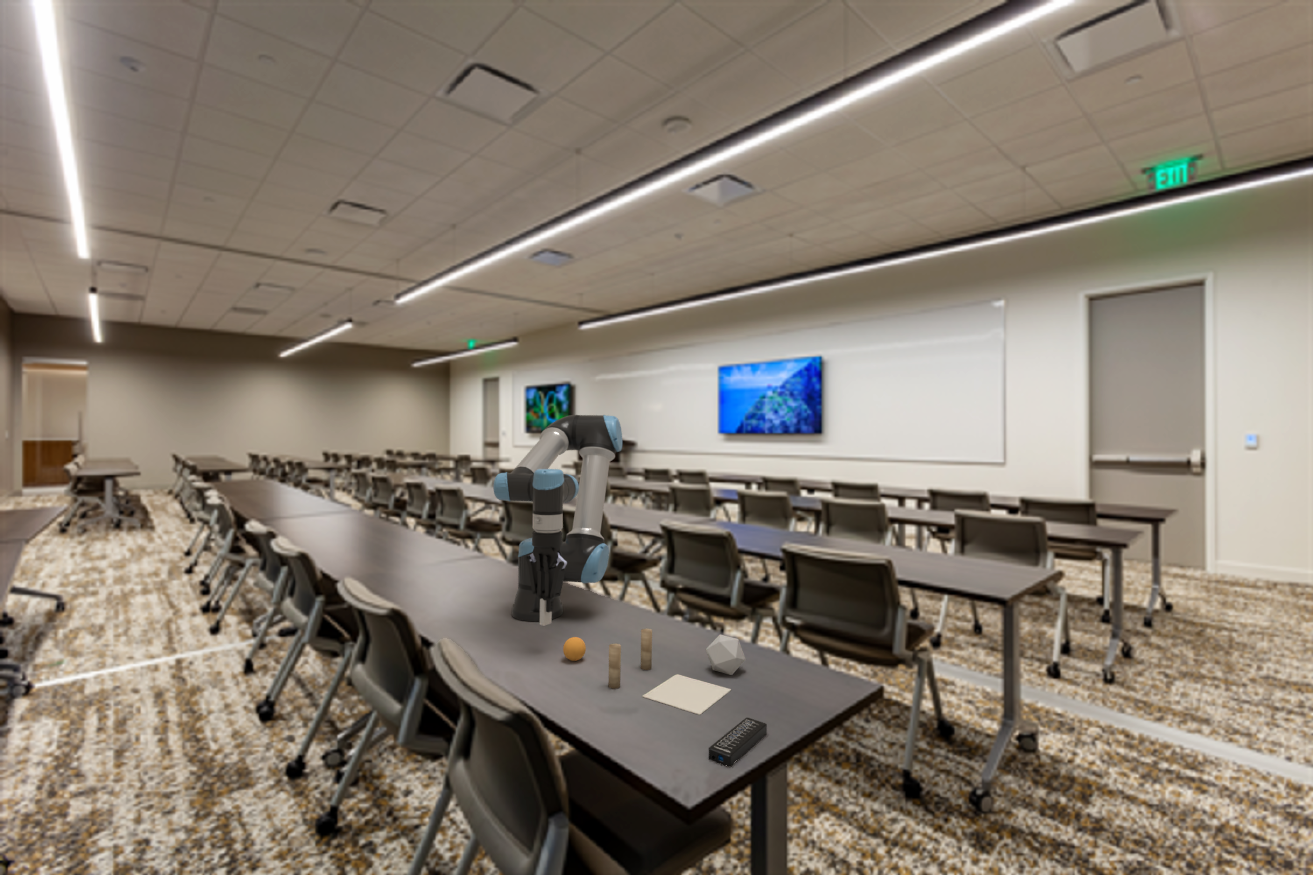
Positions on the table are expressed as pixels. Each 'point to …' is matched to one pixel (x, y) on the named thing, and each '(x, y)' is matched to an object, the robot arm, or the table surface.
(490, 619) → the table surface
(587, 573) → the robot arm
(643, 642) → the right post
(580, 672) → the table surface
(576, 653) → the ball
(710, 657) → the die
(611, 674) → the left post
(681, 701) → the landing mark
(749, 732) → the multiport hub
